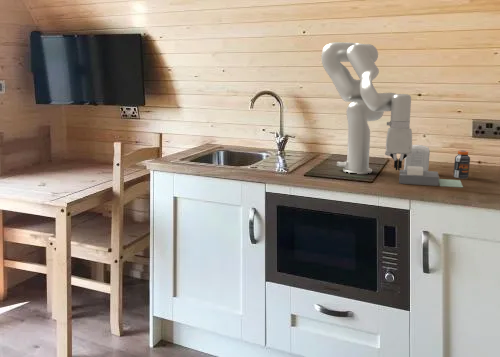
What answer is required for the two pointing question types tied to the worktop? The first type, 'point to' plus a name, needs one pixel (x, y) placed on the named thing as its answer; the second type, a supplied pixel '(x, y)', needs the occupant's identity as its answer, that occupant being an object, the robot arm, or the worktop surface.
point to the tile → (414, 170)
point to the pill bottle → (461, 165)
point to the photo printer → (418, 157)
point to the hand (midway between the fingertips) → (397, 169)
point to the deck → (419, 178)
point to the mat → (450, 183)
